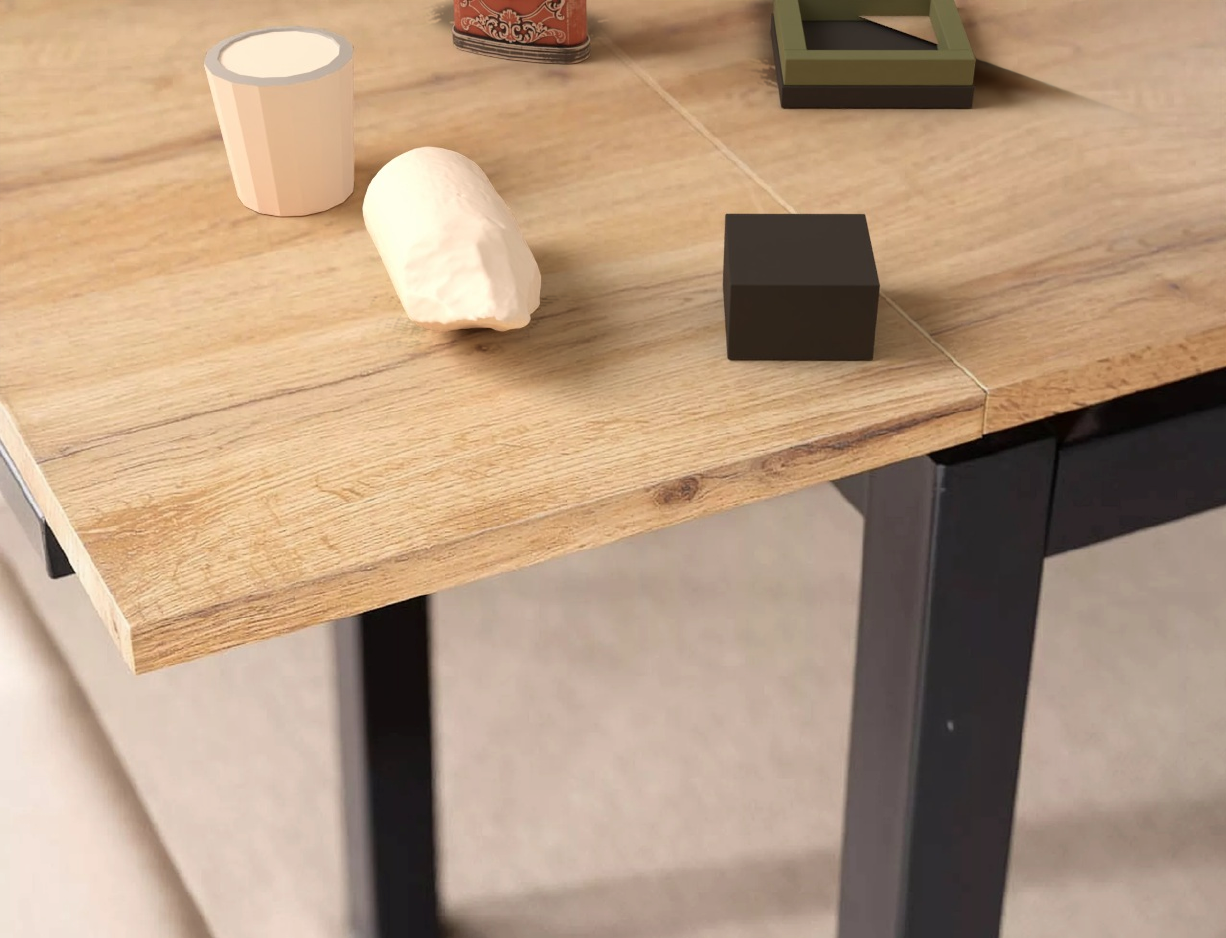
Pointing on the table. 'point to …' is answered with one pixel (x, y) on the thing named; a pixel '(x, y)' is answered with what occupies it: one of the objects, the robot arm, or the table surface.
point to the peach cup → (286, 117)
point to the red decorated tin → (523, 29)
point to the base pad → (869, 55)
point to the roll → (450, 243)
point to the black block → (799, 287)
